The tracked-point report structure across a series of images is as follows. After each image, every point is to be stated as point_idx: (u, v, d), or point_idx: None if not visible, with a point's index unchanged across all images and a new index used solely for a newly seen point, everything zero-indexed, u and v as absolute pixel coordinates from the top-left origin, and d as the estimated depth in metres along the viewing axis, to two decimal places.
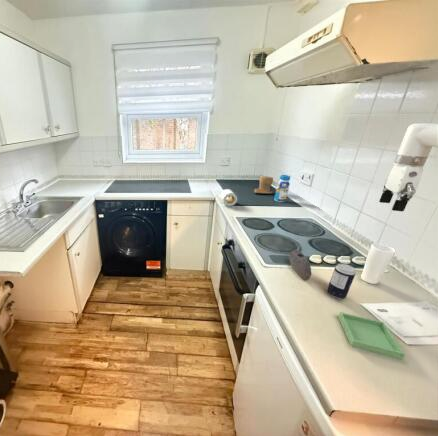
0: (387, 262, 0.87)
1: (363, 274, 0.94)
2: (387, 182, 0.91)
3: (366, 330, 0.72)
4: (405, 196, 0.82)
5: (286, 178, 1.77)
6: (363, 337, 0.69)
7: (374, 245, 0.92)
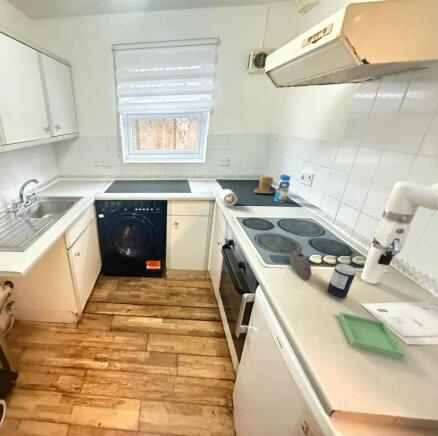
0: None
1: (363, 274, 0.94)
2: (376, 233, 0.91)
3: (366, 330, 0.72)
4: (390, 253, 0.83)
5: (286, 178, 1.77)
6: (363, 337, 0.69)
7: (374, 245, 0.92)
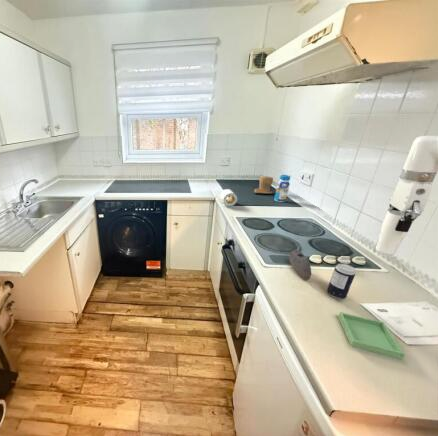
0: None
1: (378, 245, 0.86)
2: (392, 198, 0.83)
3: (366, 330, 0.72)
4: (409, 216, 0.75)
5: (286, 178, 1.77)
6: (363, 337, 0.69)
7: (390, 212, 0.84)
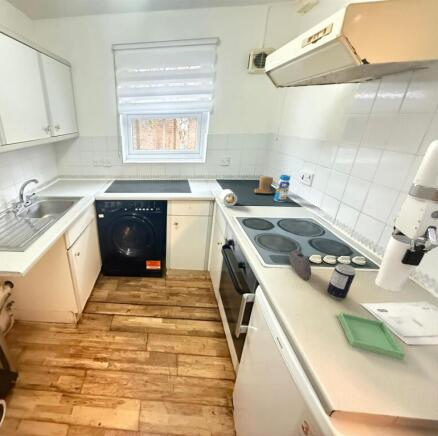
0: None
1: (379, 278, 0.67)
2: (397, 220, 0.64)
3: (366, 330, 0.72)
4: (421, 247, 0.56)
5: (286, 178, 1.77)
6: (363, 337, 0.69)
7: (395, 237, 0.65)
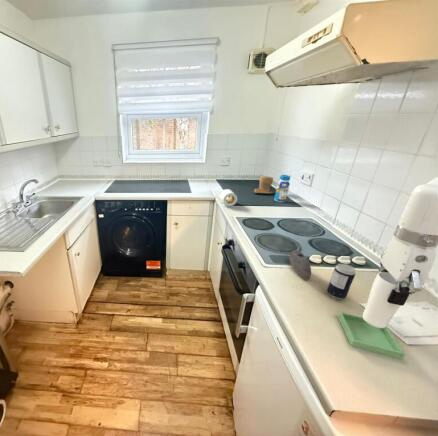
0: None
1: (366, 313, 0.68)
2: (384, 257, 0.64)
3: (366, 330, 0.72)
4: (406, 289, 0.57)
5: (286, 178, 1.77)
6: (363, 337, 0.69)
7: (381, 274, 0.65)
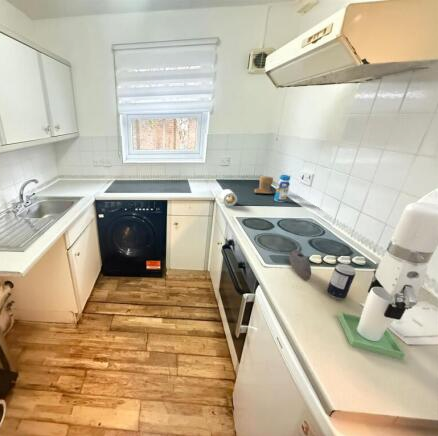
0: None
1: (360, 327, 0.70)
2: (378, 271, 0.66)
3: None
4: (402, 305, 0.57)
5: (286, 178, 1.77)
6: (363, 337, 0.69)
7: (375, 289, 0.67)
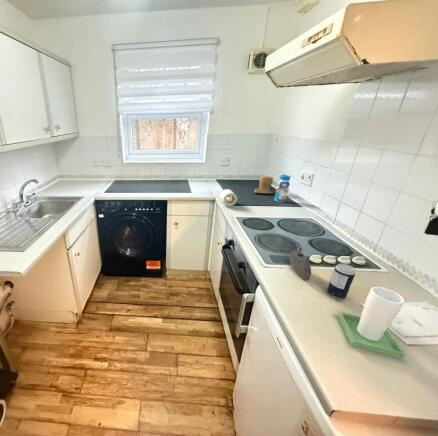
0: (393, 316, 0.63)
1: (360, 327, 0.70)
2: None
3: None
4: None
5: (286, 178, 1.77)
6: (363, 337, 0.69)
7: (375, 289, 0.67)
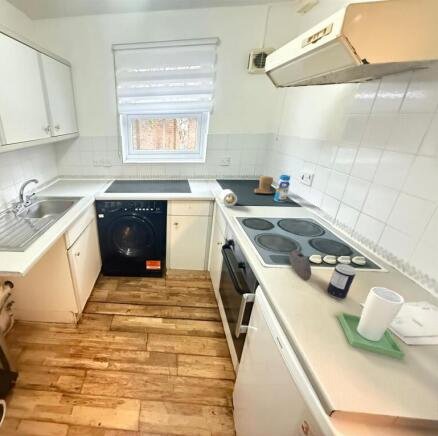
0: (393, 315, 0.63)
1: (360, 327, 0.70)
2: None
3: None
4: None
5: (286, 178, 1.77)
6: (363, 337, 0.69)
7: (375, 289, 0.67)
